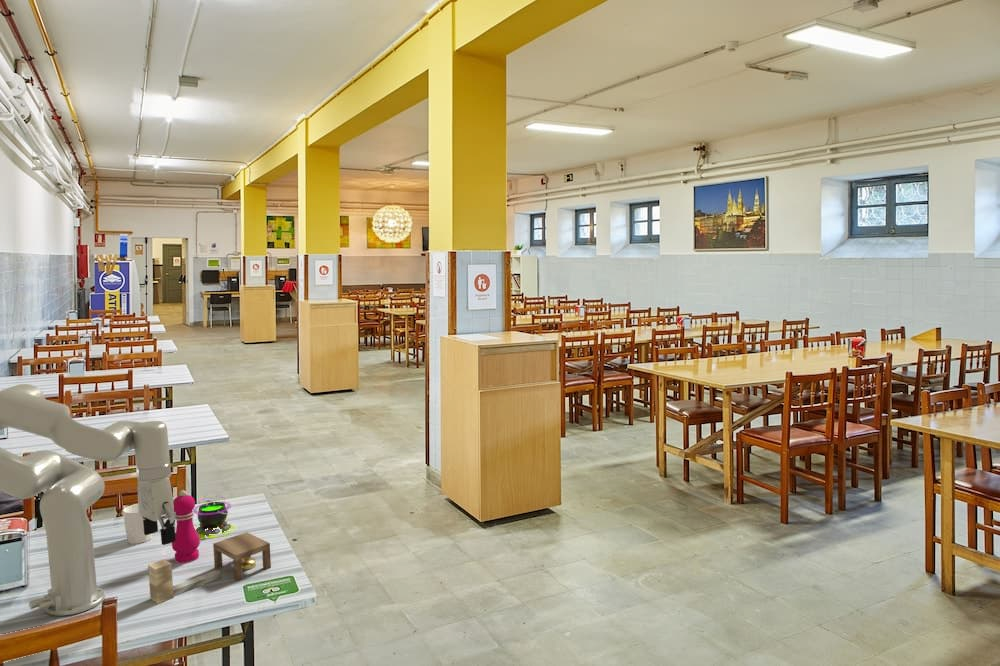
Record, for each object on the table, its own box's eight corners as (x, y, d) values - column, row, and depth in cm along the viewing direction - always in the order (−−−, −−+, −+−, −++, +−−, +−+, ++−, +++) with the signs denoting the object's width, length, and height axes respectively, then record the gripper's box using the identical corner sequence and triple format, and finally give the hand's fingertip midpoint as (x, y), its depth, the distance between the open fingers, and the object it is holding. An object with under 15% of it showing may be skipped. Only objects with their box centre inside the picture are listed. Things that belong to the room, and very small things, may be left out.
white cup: (159, 537, 213) (157, 506, 212) (134, 547, 206) (132, 514, 205) (145, 532, 217) (142, 501, 216) (120, 541, 211) (117, 509, 209)
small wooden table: (237, 580, 185) (235, 555, 184) (214, 567, 192) (213, 543, 192) (270, 567, 192) (269, 543, 191) (247, 555, 200) (246, 532, 199)
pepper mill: (190, 564, 194) (185, 495, 192) (167, 562, 196) (162, 494, 193) (206, 553, 201) (202, 486, 199) (183, 551, 203) (179, 485, 201)
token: (242, 573, 190) (242, 566, 189) (233, 567, 193) (232, 561, 193) (259, 566, 193) (258, 560, 193) (249, 561, 197) (249, 555, 196)
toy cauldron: (247, 529, 219) (245, 495, 218) (199, 543, 209) (197, 508, 207) (226, 516, 230) (224, 484, 229) (179, 530, 219) (177, 496, 218)
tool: (157, 603, 173) (155, 569, 172) (150, 598, 175) (148, 564, 174) (222, 579, 186) (220, 546, 185) (214, 574, 188) (213, 542, 187)
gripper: (123, 469, 175) (129, 534, 177) (153, 482, 163) (160, 552, 165) (154, 461, 180) (159, 525, 182) (185, 474, 169) (191, 541, 171)
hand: (159, 538), depth 174 cm, fingers open, 9 cm apart
